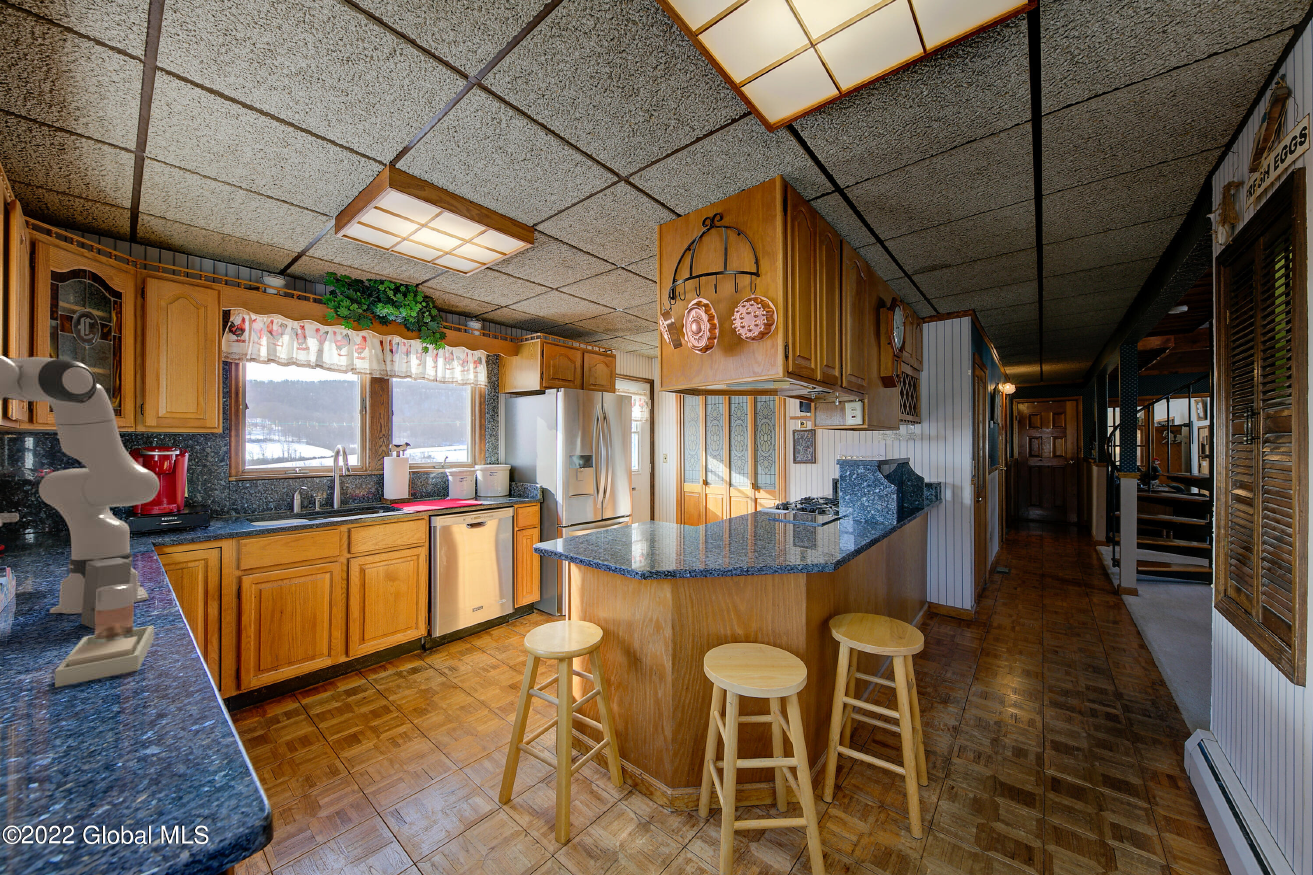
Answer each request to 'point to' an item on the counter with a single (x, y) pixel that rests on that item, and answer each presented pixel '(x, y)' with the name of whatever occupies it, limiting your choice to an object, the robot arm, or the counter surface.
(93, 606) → the skincare box
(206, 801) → the counter surface
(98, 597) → the steel can
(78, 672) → the tote
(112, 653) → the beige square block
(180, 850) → the counter surface
